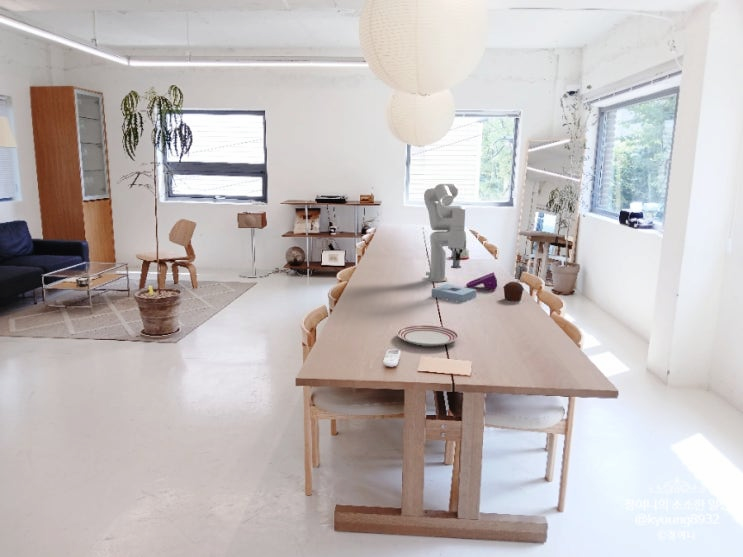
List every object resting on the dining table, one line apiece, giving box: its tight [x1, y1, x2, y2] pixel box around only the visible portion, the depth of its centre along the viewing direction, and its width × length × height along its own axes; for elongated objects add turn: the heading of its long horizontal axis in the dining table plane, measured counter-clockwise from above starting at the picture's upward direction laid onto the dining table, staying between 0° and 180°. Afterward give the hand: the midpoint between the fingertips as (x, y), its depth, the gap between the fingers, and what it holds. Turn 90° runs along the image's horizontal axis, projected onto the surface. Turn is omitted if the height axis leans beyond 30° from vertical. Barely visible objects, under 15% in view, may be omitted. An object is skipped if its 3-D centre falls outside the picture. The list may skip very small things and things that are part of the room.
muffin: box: [502, 281, 524, 302], centre depth 314 cm, size 12×11×10 cm
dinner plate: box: [396, 324, 460, 347], centre depth 246 cm, size 27×27×3 cm
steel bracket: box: [450, 250, 462, 270], centre depth 324 cm, size 4×5×10 cm
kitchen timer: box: [450, 247, 470, 261], centre depth 432 cm, size 14×14×15 cm
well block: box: [431, 283, 477, 304], centre depth 318 cm, size 20×16×4 cm
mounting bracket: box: [465, 271, 498, 291], centre depth 339 cm, size 10×8×18 cm
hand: (456, 259), depth 324 cm, fingers closed on steel bracket, 1 cm apart
